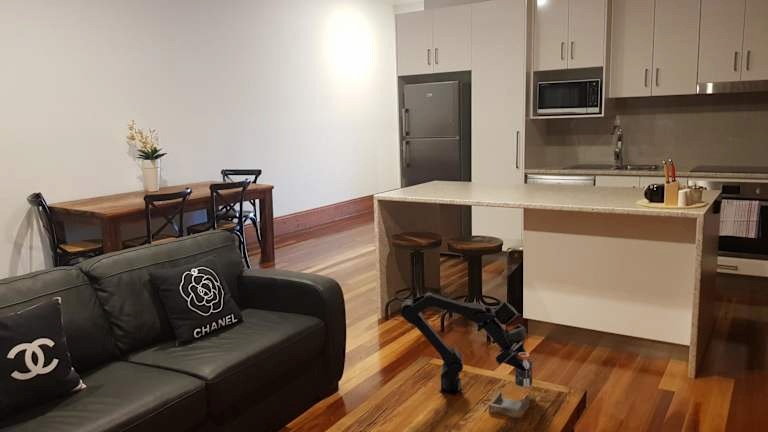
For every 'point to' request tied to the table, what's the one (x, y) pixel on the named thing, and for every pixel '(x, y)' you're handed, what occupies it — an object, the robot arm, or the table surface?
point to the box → (508, 406)
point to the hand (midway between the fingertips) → (527, 367)
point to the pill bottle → (524, 376)
